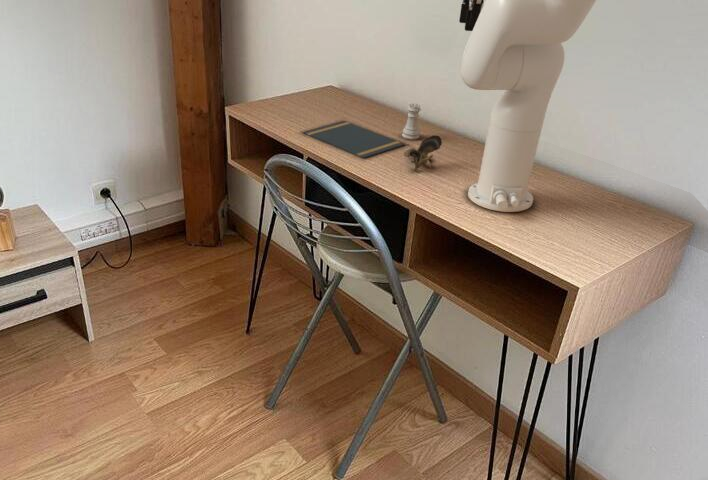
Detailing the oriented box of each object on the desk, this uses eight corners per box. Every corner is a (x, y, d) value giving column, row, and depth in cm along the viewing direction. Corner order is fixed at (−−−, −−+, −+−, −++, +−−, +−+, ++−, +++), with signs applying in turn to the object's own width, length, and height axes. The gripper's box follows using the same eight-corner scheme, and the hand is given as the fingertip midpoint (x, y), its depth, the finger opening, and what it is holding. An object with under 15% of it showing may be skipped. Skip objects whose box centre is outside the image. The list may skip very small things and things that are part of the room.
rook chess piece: (420, 140, 155) (425, 108, 151) (402, 140, 155) (406, 107, 151) (418, 134, 159) (422, 102, 155) (400, 133, 159) (404, 102, 155)
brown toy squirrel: (441, 170, 137) (449, 149, 143) (426, 143, 134) (434, 123, 140) (410, 182, 141) (419, 161, 147) (394, 156, 138) (404, 136, 144)
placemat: (404, 145, 153) (404, 143, 152) (364, 158, 145) (364, 157, 145) (343, 121, 166) (343, 120, 166) (303, 133, 158) (303, 131, 158)
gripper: (508, -59, 123) (492, 34, 132) (494, -64, 138) (480, 20, 147) (469, -60, 124) (456, 33, 132) (459, -65, 138) (447, 19, 147)
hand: (469, 26), depth 139 cm, fingers open, 9 cm apart
